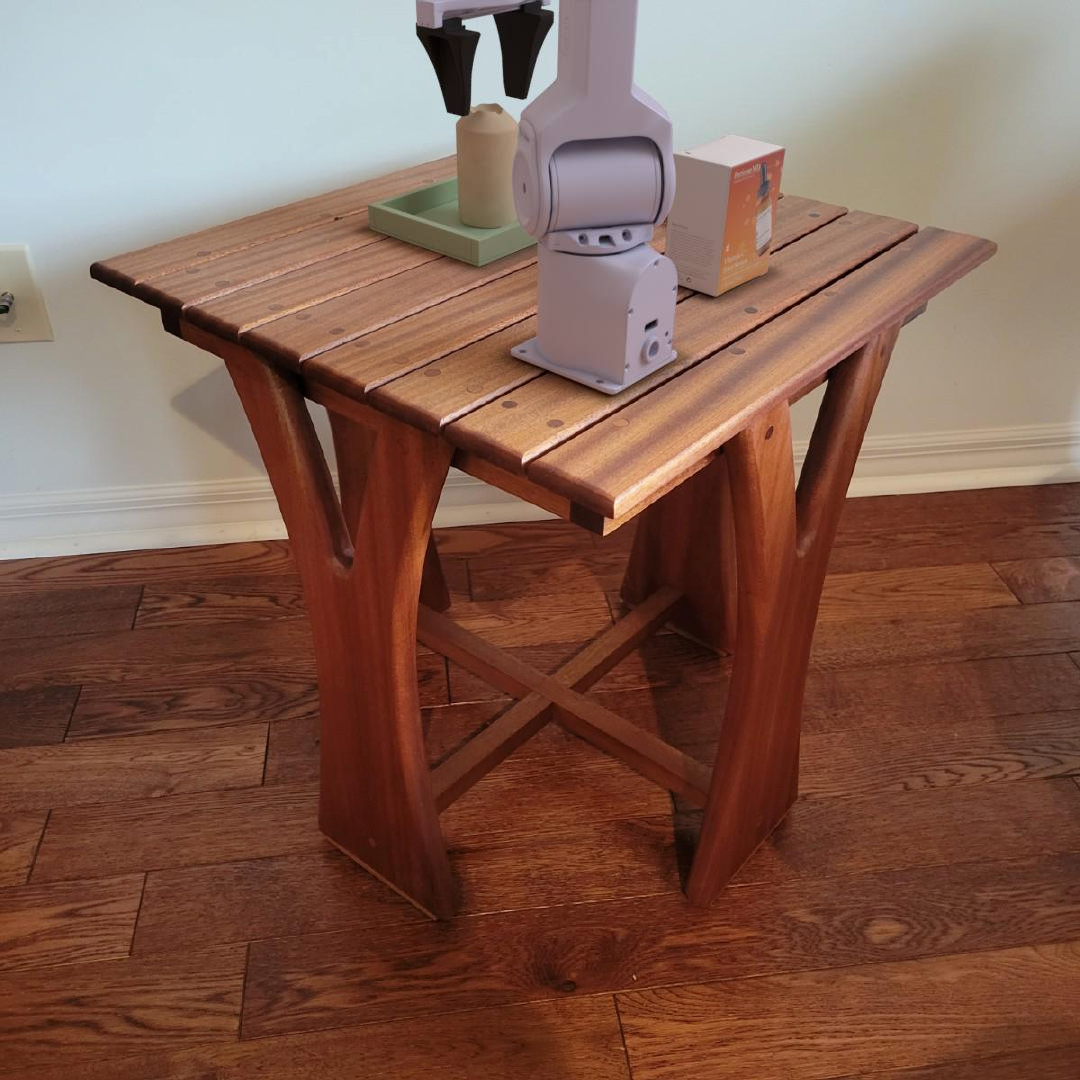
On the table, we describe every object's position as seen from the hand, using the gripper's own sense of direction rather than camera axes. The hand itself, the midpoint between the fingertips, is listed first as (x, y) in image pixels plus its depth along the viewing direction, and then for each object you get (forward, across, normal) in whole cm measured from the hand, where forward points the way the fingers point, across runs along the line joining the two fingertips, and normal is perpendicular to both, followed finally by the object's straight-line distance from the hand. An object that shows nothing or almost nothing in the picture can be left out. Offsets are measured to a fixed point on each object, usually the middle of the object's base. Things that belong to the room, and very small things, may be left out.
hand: (487, 105), depth 96 cm
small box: (+11, -3, +23) cm, 26 cm away
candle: (+10, 0, 0) cm, 10 cm away
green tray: (+10, 0, 0) cm, 10 cm away
